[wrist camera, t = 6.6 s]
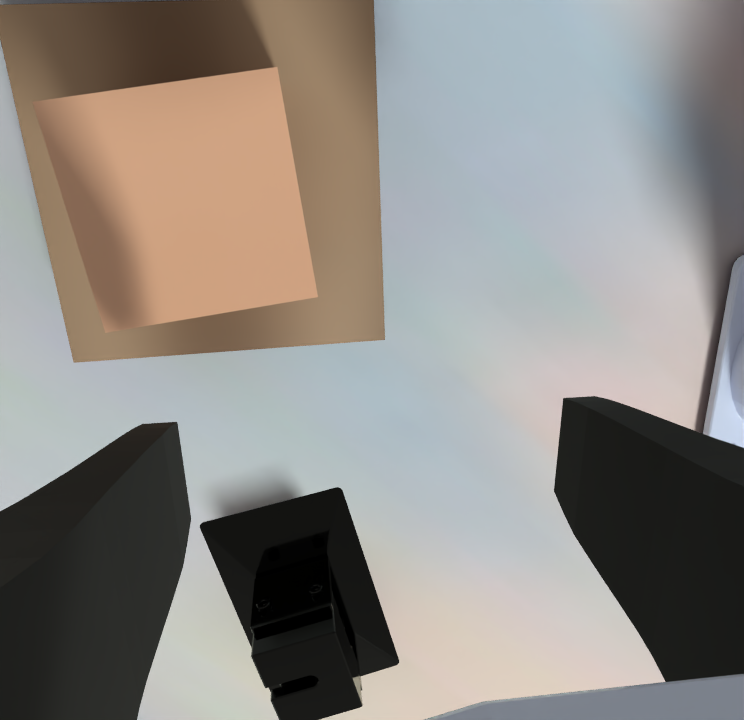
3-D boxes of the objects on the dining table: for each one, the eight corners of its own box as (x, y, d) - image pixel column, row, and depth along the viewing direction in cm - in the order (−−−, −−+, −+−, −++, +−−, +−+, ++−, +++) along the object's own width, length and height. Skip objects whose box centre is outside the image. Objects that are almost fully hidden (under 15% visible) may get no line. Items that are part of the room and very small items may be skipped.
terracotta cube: (280, 82, 16) (277, 66, 12) (311, 256, 17) (317, 296, 13) (101, 108, 15) (32, 101, 11) (150, 282, 17) (105, 332, 13)
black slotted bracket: (166, 487, 23) (136, 570, 18) (356, 434, 23) (370, 504, 19) (269, 717, 27) (264, 826, 23) (427, 671, 27) (451, 771, 23)
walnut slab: (362, 16, 18) (373, -4, 15) (373, 311, 21) (385, 339, 18) (42, 24, 17) (-8, 4, 14) (104, 330, 20) (73, 362, 18)
